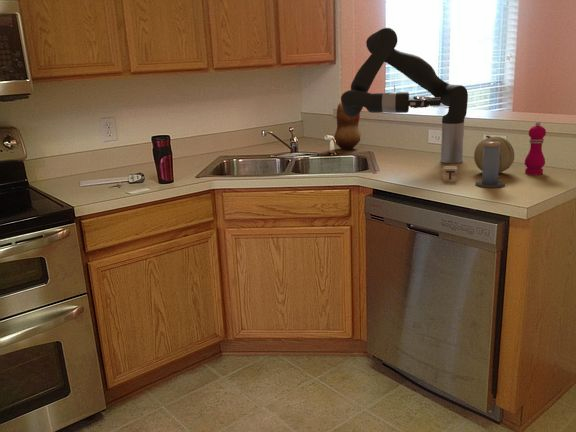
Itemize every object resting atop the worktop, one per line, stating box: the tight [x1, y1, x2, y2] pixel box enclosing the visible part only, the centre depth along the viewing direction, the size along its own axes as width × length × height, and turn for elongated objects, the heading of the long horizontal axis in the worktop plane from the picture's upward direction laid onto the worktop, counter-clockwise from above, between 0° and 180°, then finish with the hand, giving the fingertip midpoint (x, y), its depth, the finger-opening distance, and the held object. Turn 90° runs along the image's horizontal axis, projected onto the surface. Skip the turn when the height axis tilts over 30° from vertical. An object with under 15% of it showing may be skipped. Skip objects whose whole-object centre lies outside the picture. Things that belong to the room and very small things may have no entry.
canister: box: [481, 141, 501, 185], centre depth 191 cm, size 6×6×15 cm
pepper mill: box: [524, 121, 547, 176], centre depth 205 cm, size 7×7×20 cm
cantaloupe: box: [473, 135, 515, 175], centre depth 209 cm, size 15×15×15 cm
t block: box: [442, 165, 458, 183], centre depth 203 cm, size 5×5×5 cm
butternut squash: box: [333, 101, 361, 150], centre depth 279 cm, size 14×13×25 cm
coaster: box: [475, 180, 506, 189], centre depth 194 cm, size 10×10×1 cm
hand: (441, 101), depth 192 cm, fingers open, 8 cm apart
